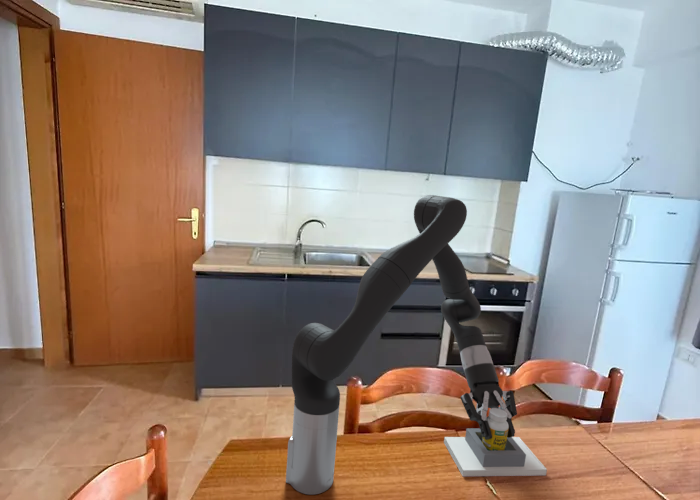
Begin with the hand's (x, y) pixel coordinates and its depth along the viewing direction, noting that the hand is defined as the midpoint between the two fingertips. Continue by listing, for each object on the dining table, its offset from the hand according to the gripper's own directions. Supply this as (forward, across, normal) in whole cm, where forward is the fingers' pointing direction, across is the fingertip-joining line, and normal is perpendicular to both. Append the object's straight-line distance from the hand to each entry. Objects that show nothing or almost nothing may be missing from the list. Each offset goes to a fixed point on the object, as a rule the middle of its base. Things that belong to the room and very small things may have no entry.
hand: (500, 437), depth 94 cm
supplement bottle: (+2, 0, +4) cm, 5 cm away
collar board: (+3, 0, +6) cm, 7 cm away
